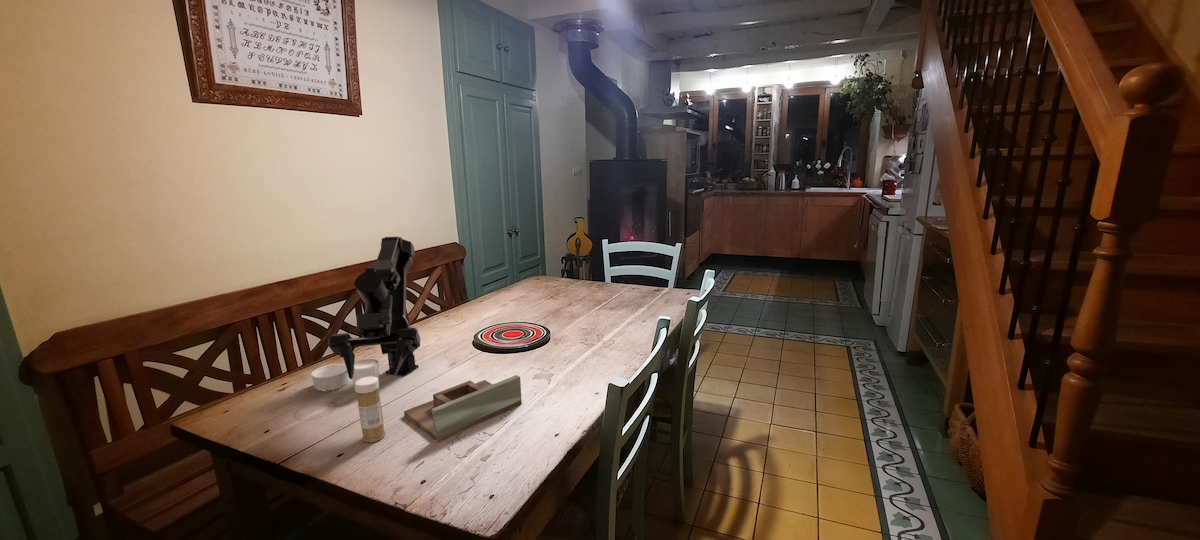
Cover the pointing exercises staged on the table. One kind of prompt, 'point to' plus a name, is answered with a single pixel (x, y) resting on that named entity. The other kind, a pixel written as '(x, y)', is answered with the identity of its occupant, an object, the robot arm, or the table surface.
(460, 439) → the table surface
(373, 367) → the shot glass
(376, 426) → the sprinkles bottle
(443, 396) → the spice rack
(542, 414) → the table surface
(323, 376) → the ramekin
